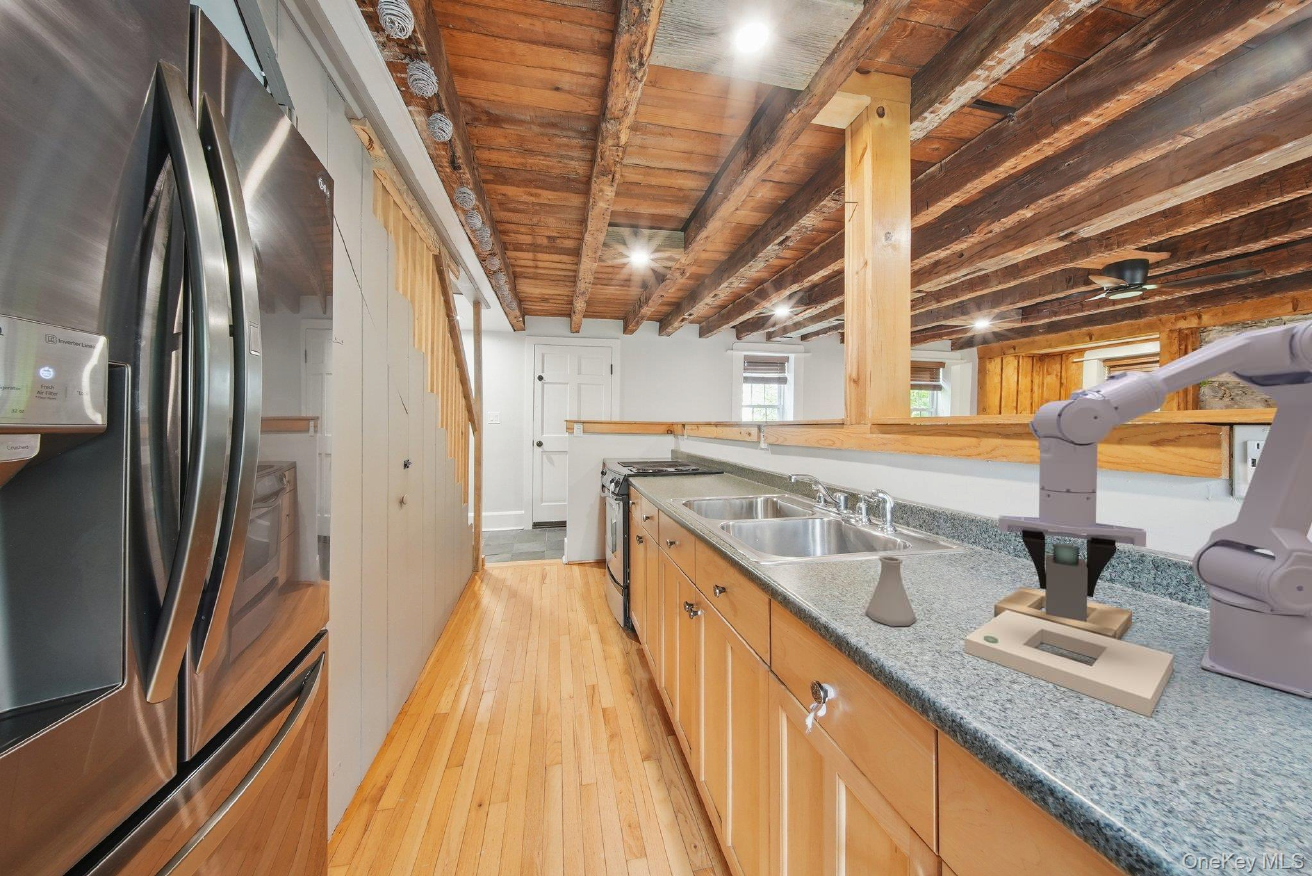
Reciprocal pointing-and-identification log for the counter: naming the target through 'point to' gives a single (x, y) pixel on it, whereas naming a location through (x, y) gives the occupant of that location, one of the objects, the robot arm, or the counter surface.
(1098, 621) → the slotted wooden base
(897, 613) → the flask
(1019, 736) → the counter surface
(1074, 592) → the plug
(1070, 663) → the port dock
